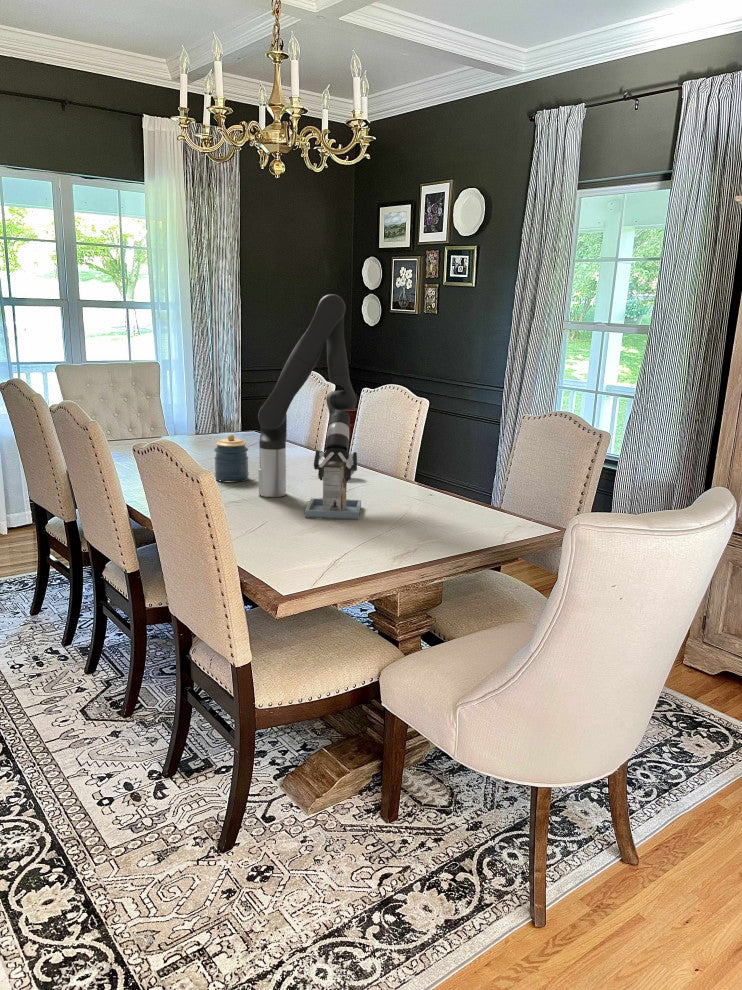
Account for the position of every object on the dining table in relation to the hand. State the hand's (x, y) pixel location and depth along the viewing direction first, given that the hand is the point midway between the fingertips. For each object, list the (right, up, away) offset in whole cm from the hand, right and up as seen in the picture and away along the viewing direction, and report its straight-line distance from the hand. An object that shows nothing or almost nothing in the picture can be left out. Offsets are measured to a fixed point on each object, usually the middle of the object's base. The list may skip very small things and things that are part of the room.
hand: (334, 479), depth 244 cm
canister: (-42, +1, +47) cm, 63 cm away
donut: (+1, +1, +53) cm, 53 cm away
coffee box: (0, -10, +3) cm, 11 cm away
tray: (0, -11, +3) cm, 11 cm away
